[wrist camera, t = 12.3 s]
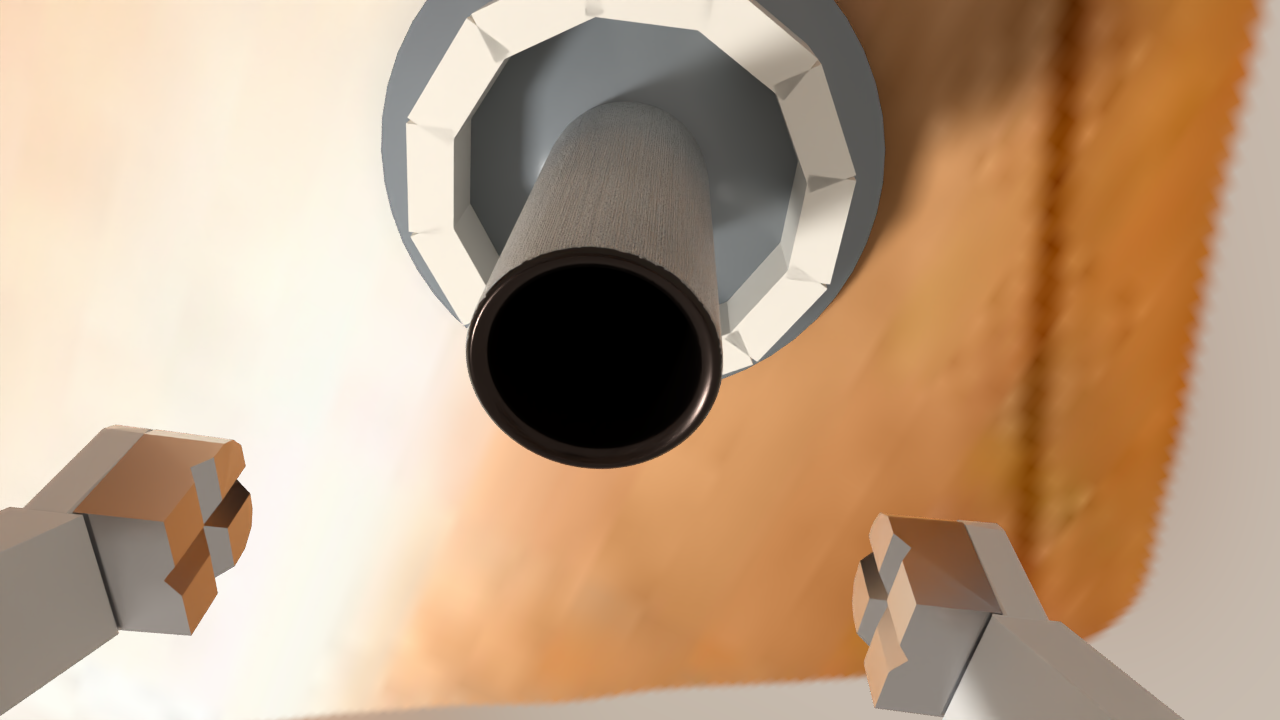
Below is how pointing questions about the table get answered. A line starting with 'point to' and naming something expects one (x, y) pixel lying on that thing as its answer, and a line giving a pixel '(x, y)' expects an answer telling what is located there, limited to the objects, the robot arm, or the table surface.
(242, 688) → the table surface
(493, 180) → the ring dish
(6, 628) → the robot arm
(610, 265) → the grey cylinder
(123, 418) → the table surface
